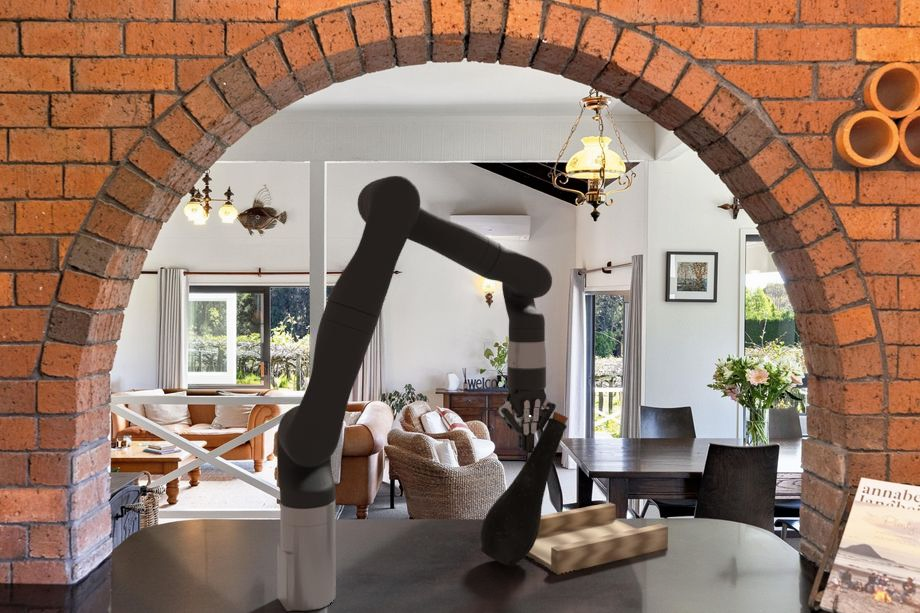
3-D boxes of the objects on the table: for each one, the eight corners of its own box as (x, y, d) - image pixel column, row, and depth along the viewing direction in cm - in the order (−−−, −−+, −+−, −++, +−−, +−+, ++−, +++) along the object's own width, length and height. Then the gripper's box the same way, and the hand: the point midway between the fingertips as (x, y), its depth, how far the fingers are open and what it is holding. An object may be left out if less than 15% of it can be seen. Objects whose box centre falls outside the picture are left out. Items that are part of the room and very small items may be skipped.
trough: (557, 574, 137) (557, 551, 137) (505, 543, 153) (505, 522, 152) (667, 548, 150) (668, 526, 150) (609, 522, 166) (609, 502, 166)
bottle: (514, 572, 134) (580, 422, 137) (465, 544, 138) (530, 400, 142) (528, 569, 143) (590, 429, 147) (482, 543, 148) (543, 408, 151)
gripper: (508, 368, 136) (508, 461, 137) (565, 364, 142) (565, 452, 143) (487, 364, 143) (487, 452, 143) (543, 360, 149) (543, 444, 150)
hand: (526, 452), depth 143 cm, fingers closed
